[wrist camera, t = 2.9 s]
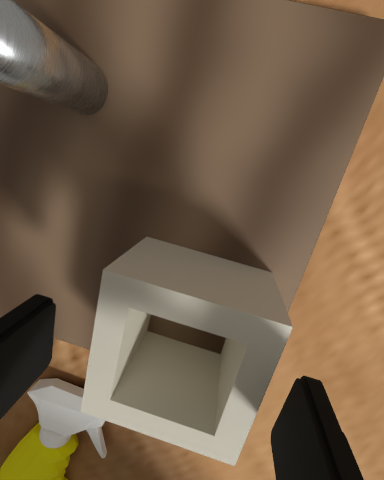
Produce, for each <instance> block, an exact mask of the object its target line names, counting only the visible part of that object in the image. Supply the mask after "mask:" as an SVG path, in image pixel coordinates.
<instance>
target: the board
mask: <svg viewBox="0 0 384 480" xmlns="http://www.w3.org/2000/svg"><path fill="white" fill-rule="evenodd" d="M13 1H14V2H16V3H17V4H18V5H20V6H21V7H22V8H23V9H25V10H26V11H27V12H29V13H30V14H31V15H33V16H34V17H35V18H36V19H38V20H39V21H40V22H42V23H43V24H44V25H46V26H47V27H48V28H50V29H51V30H52V31H53V32H55V33H56V34H57V35H59V36H60V37H61V38H63V39H64V40H65V41H66V42H68V43H69V44H70V45H72V46H73V47H74V48H76V49H77V50H78V51H79V52H81V53H82V54H83V55H85V56H86V57H87V58H89V59H90V60H91V61H93V62H94V63H95V64H96V65H98V66H99V67H100V68H101V69H102V71H103V72H104V74H105V76H106V79H107V82H108V96H107V100H106V102H105V104H104V106H103V107H102V108H101V109H100V110H99V111H98V112H96V113H94V114H90V115H84V114H80V113H77V112H75V111H72V110H69V109H66V108H64V107H61V106H58V105H56V104H53V103H50V102H47V101H45V100H42V99H39V98H37V97H34V96H31V95H28V94H26V93H23V92H20V91H18V90H15V89H12V88H9V87H7V86H4V85H1V84H0V318H1V317H2V316H4V315H5V314H7V313H8V312H10V311H11V310H13V309H14V308H16V307H17V306H19V305H20V304H22V303H23V302H25V301H26V300H28V299H29V298H31V297H32V296H34V295H36V294H40V295H43V296H46V297H49V298H52V299H53V303H55V304H56V314H55V325H54V336H53V338H56V339H59V340H62V341H65V342H68V343H71V344H74V345H77V346H80V347H83V348H86V349H89V350H90V348H91V342H92V336H93V329H94V323H95V317H96V310H97V304H98V298H99V291H100V285H101V279H102V273H103V269H104V268H106V267H107V266H108V265H110V264H111V263H112V262H114V261H115V260H116V259H118V258H119V257H120V256H122V255H123V254H124V253H126V252H127V251H128V250H130V249H131V248H132V247H133V246H135V245H136V244H137V243H139V242H140V241H141V240H143V239H144V238H145V237H150V238H154V239H157V240H161V241H164V242H168V243H171V244H175V245H178V246H182V247H185V248H188V249H192V250H195V251H199V252H202V253H206V254H209V255H213V256H216V257H220V258H223V259H227V260H230V261H234V262H237V263H241V264H244V265H248V266H251V267H255V268H258V269H262V270H265V271H269V272H272V273H273V275H274V278H275V281H276V283H277V286H278V289H279V291H280V294H281V297H282V299H283V302H284V305H285V307H286V310H287V313H288V311H289V309H290V306H291V304H292V302H293V299H294V297H295V294H296V292H297V289H298V287H299V284H300V282H301V279H302V277H303V274H304V272H305V269H306V267H307V264H308V262H309V260H310V257H311V255H312V252H313V250H314V247H315V245H316V242H317V240H318V237H319V235H320V232H321V230H322V227H323V225H324V223H325V220H326V218H327V215H328V213H329V210H330V208H331V205H332V203H333V200H334V198H335V195H336V193H337V190H338V188H339V185H340V183H341V181H342V178H343V176H344V173H345V171H346V168H347V166H348V163H349V161H350V158H351V156H352V153H353V151H354V148H355V146H356V143H357V141H358V139H359V136H360V134H361V131H362V129H363V126H364V124H365V121H366V119H367V116H368V114H369V111H370V109H371V106H372V104H373V102H374V99H375V97H376V94H377V92H378V89H379V87H380V84H381V82H382V79H383V77H384V19H379V18H374V17H369V16H364V15H359V14H354V13H349V12H344V11H339V10H334V9H329V8H324V7H319V6H314V5H309V4H304V3H299V2H294V1H289V0H13ZM147 331H149V332H152V333H155V334H158V335H162V336H165V337H168V338H171V339H174V340H177V341H180V342H184V343H187V344H190V345H193V346H196V347H199V348H202V349H206V350H209V351H212V352H215V353H218V354H221V352H222V349H223V346H224V343H225V340H226V338H225V337H222V336H218V335H215V334H212V333H209V332H206V331H202V330H199V329H196V328H193V327H190V326H186V325H183V324H180V323H177V322H174V321H170V320H167V319H164V318H161V317H158V316H154V315H151V317H150V321H149V325H148V330H147Z"/></svg>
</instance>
